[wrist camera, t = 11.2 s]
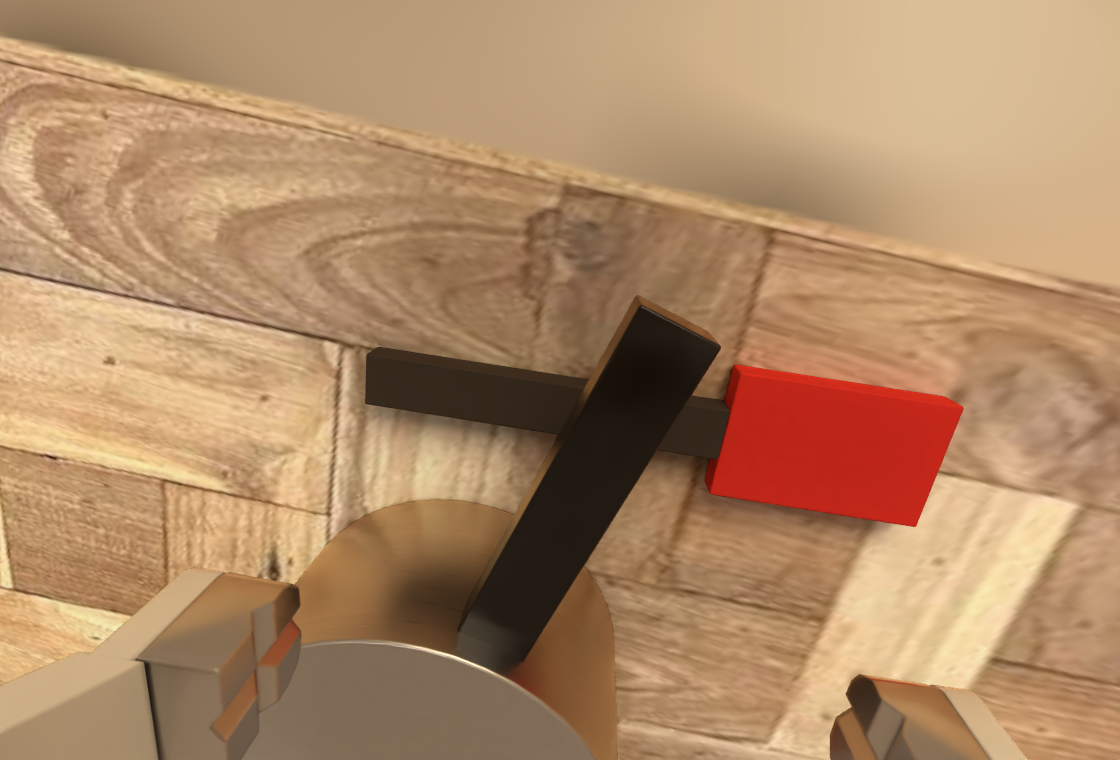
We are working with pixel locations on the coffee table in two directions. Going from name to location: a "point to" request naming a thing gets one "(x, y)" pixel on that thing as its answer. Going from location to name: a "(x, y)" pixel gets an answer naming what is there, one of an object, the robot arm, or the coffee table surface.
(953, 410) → the spatula
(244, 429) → the coffee table surface
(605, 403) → the saucepan
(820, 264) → the coffee table surface
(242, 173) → the coffee table surface
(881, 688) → the robot arm
